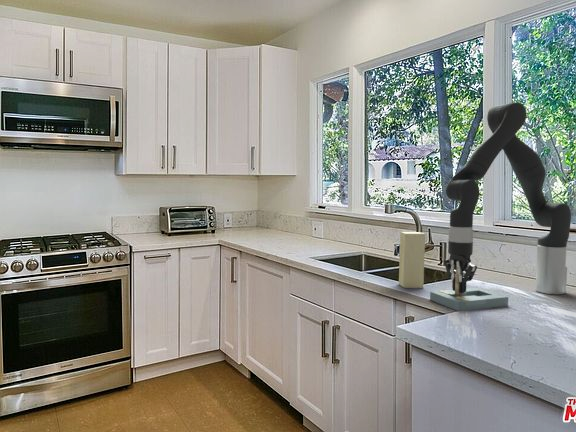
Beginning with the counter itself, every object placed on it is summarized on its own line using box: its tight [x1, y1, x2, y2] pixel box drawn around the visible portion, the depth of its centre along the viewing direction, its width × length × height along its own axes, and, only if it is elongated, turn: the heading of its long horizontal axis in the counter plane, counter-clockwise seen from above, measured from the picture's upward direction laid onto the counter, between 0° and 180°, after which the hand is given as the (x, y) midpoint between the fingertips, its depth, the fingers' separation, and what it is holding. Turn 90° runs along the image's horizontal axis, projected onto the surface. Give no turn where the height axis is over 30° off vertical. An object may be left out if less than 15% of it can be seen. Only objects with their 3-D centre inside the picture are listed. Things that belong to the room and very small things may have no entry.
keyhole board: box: [429, 287, 509, 312], centre depth 147 cm, size 20×14×3 cm
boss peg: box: [455, 265, 464, 297], centre depth 146 cm, size 5×5×13 cm
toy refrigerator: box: [398, 231, 426, 289], centre depth 171 cm, size 8×7×21 cm
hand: (458, 291), depth 146 cm, fingers closed on boss peg, 2 cm apart
